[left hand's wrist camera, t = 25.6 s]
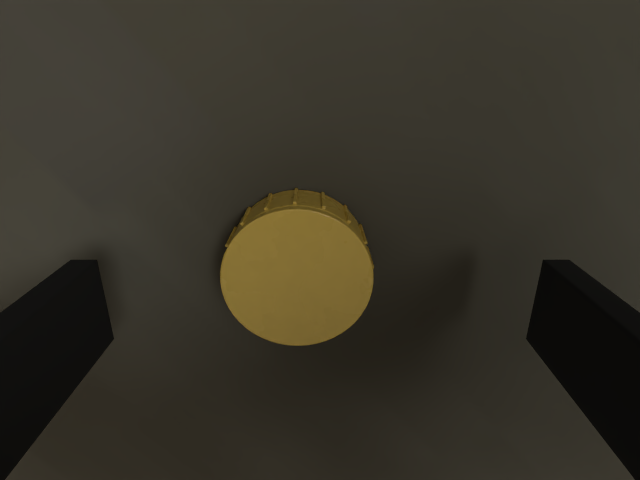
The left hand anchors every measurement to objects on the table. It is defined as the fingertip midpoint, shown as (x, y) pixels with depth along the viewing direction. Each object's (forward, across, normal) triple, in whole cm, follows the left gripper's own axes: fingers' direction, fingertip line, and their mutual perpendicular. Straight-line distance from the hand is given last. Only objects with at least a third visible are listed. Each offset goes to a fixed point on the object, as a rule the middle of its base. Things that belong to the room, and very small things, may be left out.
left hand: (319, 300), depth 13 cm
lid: (+1, +1, 0) cm, 1 cm away
